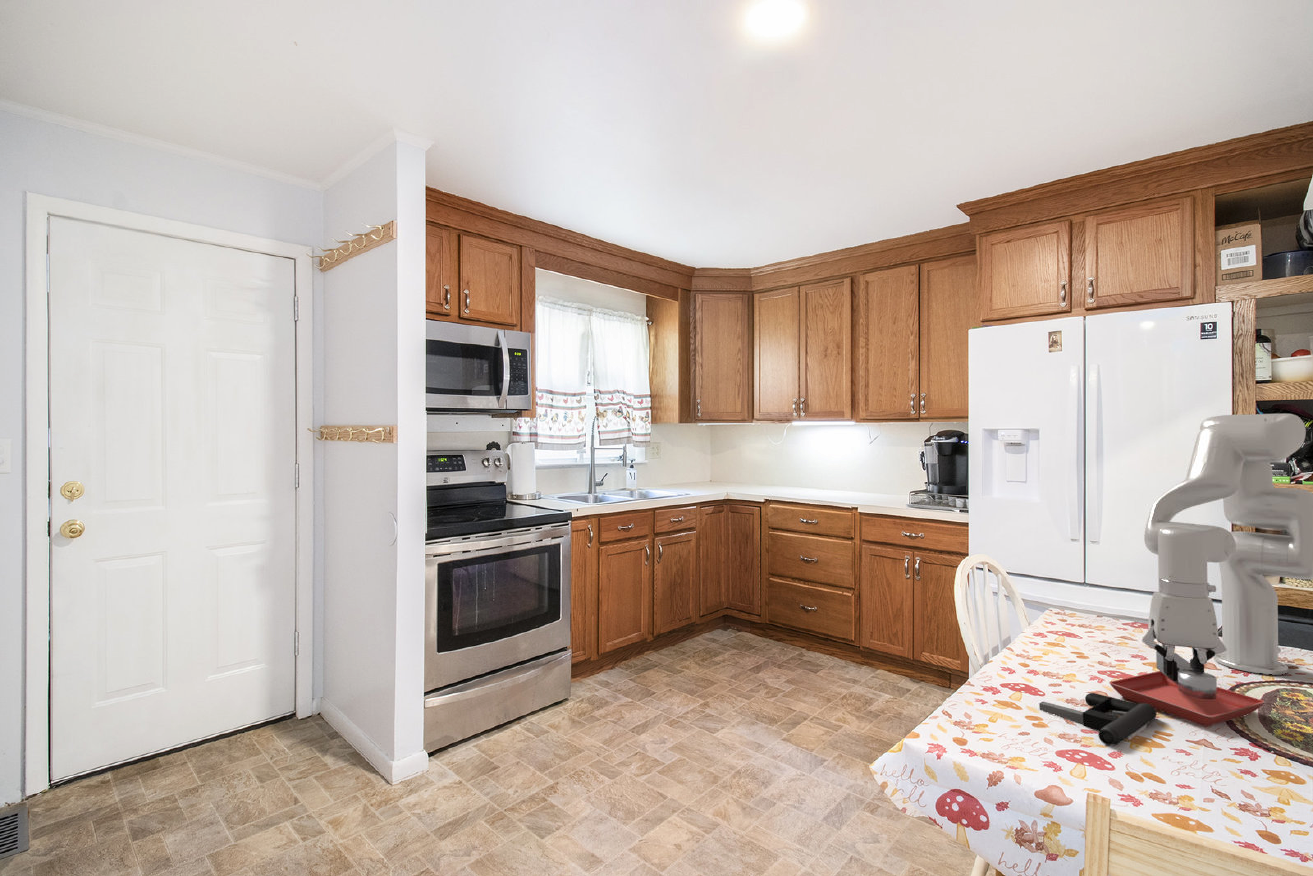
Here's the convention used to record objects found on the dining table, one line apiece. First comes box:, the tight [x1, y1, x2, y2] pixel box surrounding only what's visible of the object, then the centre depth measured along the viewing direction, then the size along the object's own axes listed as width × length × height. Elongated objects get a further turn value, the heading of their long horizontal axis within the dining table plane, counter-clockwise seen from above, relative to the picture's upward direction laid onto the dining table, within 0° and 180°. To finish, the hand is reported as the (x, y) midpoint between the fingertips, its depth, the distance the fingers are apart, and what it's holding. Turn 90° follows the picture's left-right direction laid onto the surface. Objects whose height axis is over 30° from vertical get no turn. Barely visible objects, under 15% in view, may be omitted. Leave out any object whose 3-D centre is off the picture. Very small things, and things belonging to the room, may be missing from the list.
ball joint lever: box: [1155, 650, 1218, 700], centre depth 122 cm, size 16×6×4 cm, turn 160°
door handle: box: [1038, 692, 1159, 746], centre depth 116 cm, size 3×20×16 cm
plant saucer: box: [1108, 670, 1266, 727], centre depth 122 cm, size 18×18×3 cm
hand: (1183, 679), depth 122 cm, fingers closed on ball joint lever, 3 cm apart
